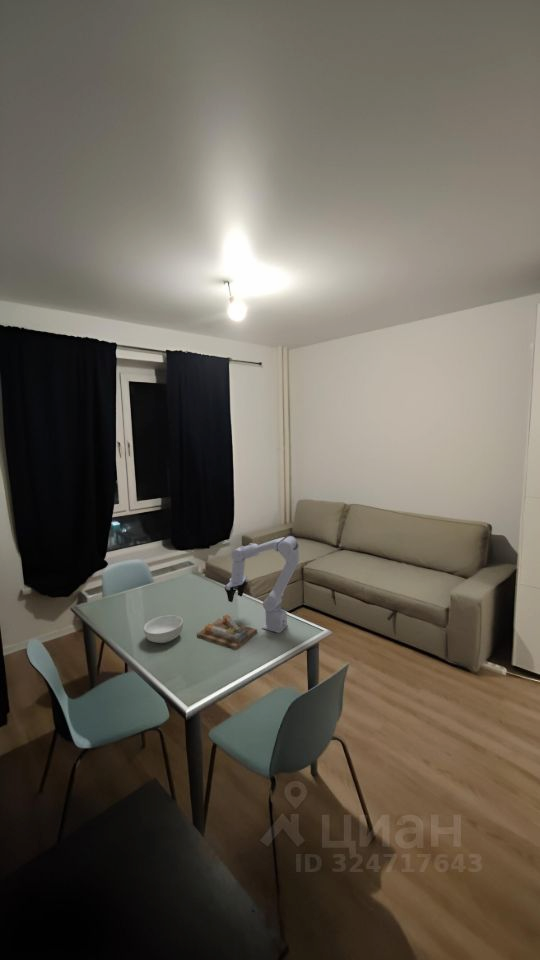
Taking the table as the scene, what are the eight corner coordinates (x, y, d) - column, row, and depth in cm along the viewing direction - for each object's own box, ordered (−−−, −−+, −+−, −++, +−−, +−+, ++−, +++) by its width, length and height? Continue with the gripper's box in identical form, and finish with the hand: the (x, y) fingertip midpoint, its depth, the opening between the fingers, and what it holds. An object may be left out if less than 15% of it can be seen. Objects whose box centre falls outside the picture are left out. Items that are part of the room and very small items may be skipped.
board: (257, 632, 174) (256, 629, 174) (235, 649, 161) (235, 646, 160) (219, 621, 186) (219, 618, 186) (196, 636, 172) (196, 633, 172)
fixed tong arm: (248, 635, 169) (247, 629, 168) (238, 643, 163) (238, 636, 162) (215, 625, 178) (215, 619, 178) (205, 632, 173) (205, 626, 172)
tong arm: (243, 637, 167) (243, 630, 167) (238, 638, 166) (237, 632, 166) (228, 620, 183) (228, 614, 183) (223, 621, 182) (223, 615, 182)
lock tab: (236, 630, 167) (236, 628, 166) (231, 634, 164) (231, 632, 163) (231, 628, 168) (231, 626, 168) (226, 632, 165) (225, 630, 165)
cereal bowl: (169, 625, 184) (168, 611, 183) (191, 636, 173) (190, 621, 172) (137, 640, 171) (136, 625, 170) (159, 653, 160) (158, 637, 159)
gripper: (240, 565, 191) (237, 590, 193) (221, 574, 178) (219, 601, 181) (251, 569, 187) (248, 595, 190) (233, 579, 175) (231, 606, 177)
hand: (235, 598), depth 185 cm, fingers open, 7 cm apart
